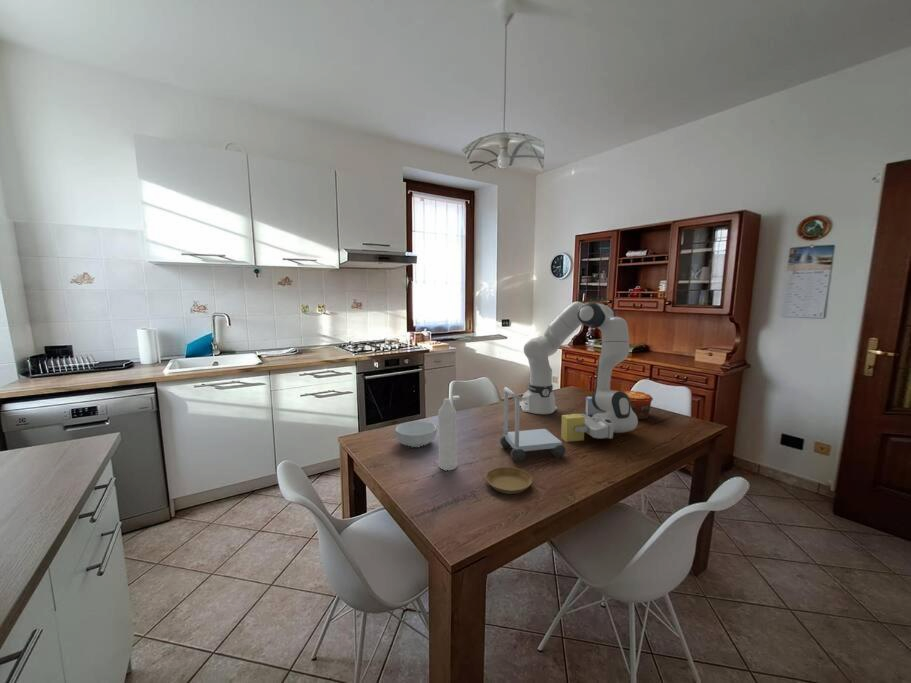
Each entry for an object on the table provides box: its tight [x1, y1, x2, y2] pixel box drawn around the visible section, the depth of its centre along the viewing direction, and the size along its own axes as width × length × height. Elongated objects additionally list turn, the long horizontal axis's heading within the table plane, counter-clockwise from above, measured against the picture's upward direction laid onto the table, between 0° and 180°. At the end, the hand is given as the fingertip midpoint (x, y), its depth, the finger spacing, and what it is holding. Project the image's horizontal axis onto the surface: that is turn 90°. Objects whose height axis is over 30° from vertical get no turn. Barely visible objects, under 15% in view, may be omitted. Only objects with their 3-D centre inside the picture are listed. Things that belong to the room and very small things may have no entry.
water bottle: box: [437, 395, 461, 471], centre depth 129 cm, size 9×6×25 cm
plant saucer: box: [485, 466, 533, 495], centre depth 117 cm, size 15×15×3 cm
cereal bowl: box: [395, 420, 438, 448], centre depth 149 cm, size 17×17×7 cm
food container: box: [622, 390, 654, 420], centre depth 181 cm, size 16×16×11 cm
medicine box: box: [585, 396, 605, 416], centre depth 183 cm, size 8×4×9 cm, turn 84°
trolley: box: [499, 386, 566, 463], centre depth 139 cm, size 14×21×25 cm, turn 102°
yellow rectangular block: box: [560, 413, 585, 443], centre depth 152 cm, size 4×8×10 cm, turn 102°
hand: (570, 426), depth 152 cm, fingers closed on yellow rectangular block, 4 cm apart
